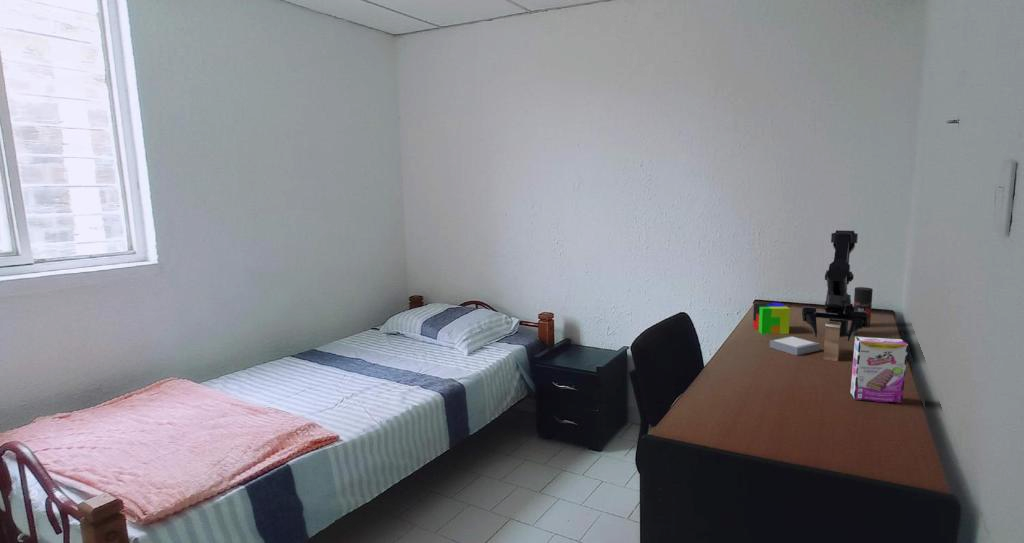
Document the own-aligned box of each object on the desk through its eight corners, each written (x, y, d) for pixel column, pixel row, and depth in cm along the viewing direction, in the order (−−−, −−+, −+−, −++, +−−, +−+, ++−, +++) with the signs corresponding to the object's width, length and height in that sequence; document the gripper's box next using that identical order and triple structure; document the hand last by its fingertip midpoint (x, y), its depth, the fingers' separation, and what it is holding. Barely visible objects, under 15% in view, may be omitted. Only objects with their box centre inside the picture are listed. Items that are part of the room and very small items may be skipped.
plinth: (791, 342, 199) (791, 335, 198) (819, 350, 189) (819, 343, 189) (769, 347, 194) (769, 340, 194) (797, 355, 184) (797, 347, 184)
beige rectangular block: (824, 355, 183) (826, 320, 181) (838, 357, 181) (840, 322, 179) (823, 359, 180) (825, 323, 178) (837, 361, 178) (840, 325, 176)
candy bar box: (854, 400, 146) (858, 341, 144) (849, 393, 151) (853, 335, 148) (904, 404, 142) (908, 343, 140) (897, 397, 147) (902, 338, 145)
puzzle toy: (778, 327, 220) (779, 302, 219) (788, 334, 210) (790, 308, 209) (753, 327, 221) (753, 303, 220) (761, 334, 211) (762, 308, 210)
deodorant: (853, 326, 217) (856, 289, 214) (851, 323, 222) (853, 286, 220) (871, 328, 214) (874, 290, 212) (868, 324, 220) (870, 287, 218)
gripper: (804, 283, 185) (798, 322, 178) (869, 287, 175) (866, 328, 168) (805, 301, 193) (800, 339, 186) (868, 306, 183) (865, 347, 175)
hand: (832, 338), depth 178 cm, fingers open, 9 cm apart
